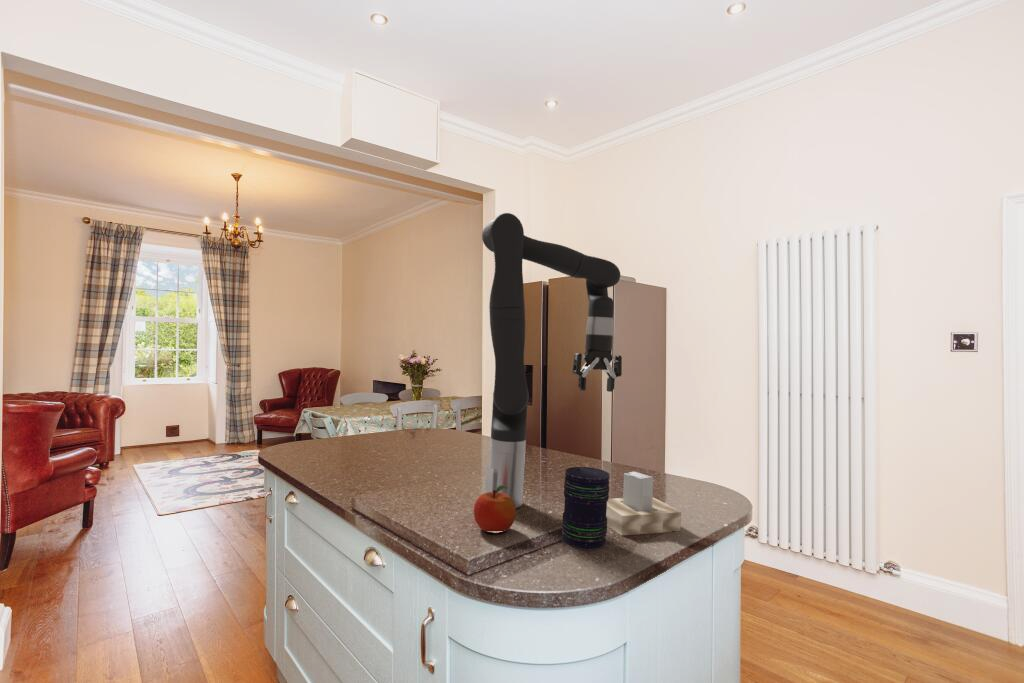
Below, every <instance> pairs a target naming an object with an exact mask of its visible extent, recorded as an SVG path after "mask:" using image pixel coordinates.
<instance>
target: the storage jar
mask: <svg viewBox="0 0 1024 683" xmlns="http://www.w3.org/2000/svg"><path fill="white" fill-rule="evenodd" d="M564 474H565V476H564V483H563V484H564V485H563V488H564V489H563V496H564V507H563V508H564V510H563V513H562V516H561V517H562V520H561V532H562V534H561V541H562V543H564V544H565V545H567V546H569V547H572V548H573V549H574V548H575V549H579V550H592V551H593V550H598V549H599V550H600V549H602V548H604V547H605V546H606V543H607V541H606V537H607V532H608V526H607V517H606V511H607V501H608V499H610V496H609V495H610V481H609V480H610V477H611V475H610V472H608V471H606V470H603V469H599V468H596V467H588V466H587V467H585V466H574V467H568V468H566V469H565V473H564Z"/></svg>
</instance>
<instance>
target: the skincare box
mask: <svg viewBox="0 0 1024 683" xmlns="http://www.w3.org/2000/svg"><path fill="white" fill-rule="evenodd" d="M622 492H623V494H622V495H623V497H622V498H623V504H625V505H626V506H628V507H630V508H631V509H633V510H635V511H636V512H641V511H652V503H653V497H654V496H653V495H654V476H652V475H651V476H650V475H647V474H643V473H641V472H638V471H630V472H624V473H623V491H622Z"/></svg>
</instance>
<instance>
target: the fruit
mask: <svg viewBox="0 0 1024 683" xmlns="http://www.w3.org/2000/svg"><path fill="white" fill-rule="evenodd" d="M504 488H508V487H507V486H501V485H500V486H498V487H496V490H493V492H489V493H481V495H479V496H478V497H477V499H476V500H475V502H474V505H473V506H474V507H473V517H474V520H475V522H476V523H475V524H477V526H478V527H479V529H481V530H482V531H484V530H485V531H504V530H507V529H508V530H509V529H510V528H511V527H512V526H513V524H514V522H515V520H516V513H517V512H516V511H517V510H516V509H517V508H515V504H514V501H513V500H512V499H511V497H510V496H508V495H506V494H504V493H499V491H500V490H502V489H504ZM508 489H509V488H508ZM508 530H507V531H508ZM485 531H484V532H485Z"/></svg>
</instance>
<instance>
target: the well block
mask: <svg viewBox="0 0 1024 683" xmlns="http://www.w3.org/2000/svg"><path fill="white" fill-rule="evenodd" d="M606 517H607V527H608V528H610V529H612V530H613V531H614V532H616V533H617V534H618V535H619V536H633V535H634V536H635V535H644V534H646V535H647V534H657V533H658V534H660V533H661V534H662V533H673V532H672V531H675V532H681V522H682V511H680V510H678V509H676V508H675V507H673V506H671V505H669V504H667V503H665V502H663V501H661V500H660V499H657V498H655V497H654V496H653V503H652V511H641V512H636V511H635V510H633V509H631V508H630V507H628V506H626V505H625V504H623V497H616V498H614V497H613V498H608V501H607V511H606Z"/></svg>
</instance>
